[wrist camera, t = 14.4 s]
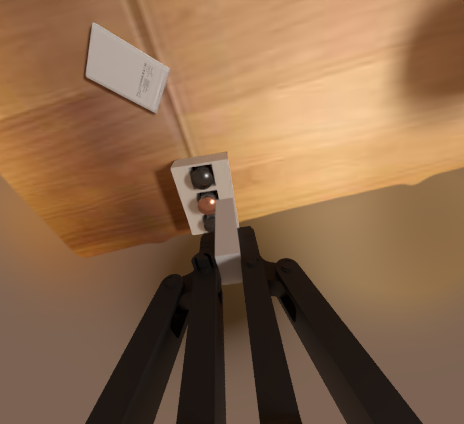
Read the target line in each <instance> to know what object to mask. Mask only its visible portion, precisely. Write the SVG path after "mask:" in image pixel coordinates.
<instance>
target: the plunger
mask: <svg viewBox="0 0 464 424" xmlns="http://www.w3.org/2000/svg"><path fill="white" fill-rule="evenodd" d="M215 215H216V213H214V214H212V215H207V218H206V220H205V222H204V228H205V230H206V231H207V232H215Z"/></svg>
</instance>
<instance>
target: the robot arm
mask: <svg viewBox="0 0 464 424" xmlns="http://www.w3.org/2000/svg"><path fill="white" fill-rule="evenodd" d="M191 262H192V264H193V267H194V271H193V272H191V273H190V274H188V275H185V276H183V277H181V276H180V275H178V274H172V275H169V276H167V277H166V278H165V279H164V280H163V281H162V282H161V284H160V286H159V288H158V290H157V291H156V293H155V295H154V297H153V299H152V301H151V303H150V305H149V306H148V308H147V310H146V312H145V314H144V316H143V317H142V320H141V321H140V323H139V325H138V327H137V329H136V330H135V332H134V334H133V336H132V338H131V340H130V342H129V343H128V345H127V347H126V349H125V351H124V353H123V355H122V356H121V358H120V360H119V362H118V364H117V366H116V368H115V369H114V371H113V373H112V375H111V377H110V379H109V381H108V383H107V384H106V386H105V388H104V390H103V392H102V394H101V395H100V397H99V399H98V401H97V403H96V405H95V407H94V408H93V411H92V412H91V414H90V416H89V418H88V420H87V421H86V423H85V424H153V423H154V420H155V417H156V414H157V412H158V409H159V406H160V403H161V400H162V397H163V394H164V391H165V388H166V385H167V383H168V380H169V377H170V374H171V371H172V368H173V365H174V362H175V359H176V356H177V353H178V351H179V348H180V345H181V342H182V339H183V336H184V333H185V330H186V327H187V325H188V330H187V339H186V347H185V355H184V364H183V372H182V380H181V388H180V397H179V405H178V414H177V422H176V424H226V401H225V362H224V325H223V324H224V323H223V292H222V288H221V282H222V285H226V284H234V283H241V282H243V286H244V294H245V303H246V311H247V320H248V328H249V336H250V345H251V352H252V361H253V369H254V377H255V386H256V394H257V402H258V411H259V419H260V424H302V422H301V418H300V415H299V410H298V406H297V402H296V398H295V394H294V390H293V386H292V382H291V377H290V373H289V369H288V365H287V361H286V357H285V353H284V349H283V344H282V340H281V336H280V332H279V328H278V324H277V320H276V316H275V311H274V307H273V304H272V299H271V296H276V297H277V298H278V300H279V302H280V304H281V305H282V307H283V309H284V311H285V313H286V314H287V316H288V318H289V320H290V322H291V323H292V325H293V327H294V329H295V330H296V332H297V334H298V336H299V338H300V340H301V342H302V343H303V345H304V347H305V349H306V350H307V352H308V354H309V356H310V358H311V360H312V361H313V363H314V365H315V367H316V369H317V370H318V372H319V374H320V376H321V378H322V379H323V381H324V383H325V385H326V386H327V388H328V390H329V392H330V394H331V396H332V397H333V399H334V401H335V403H336V405H337V406H338V408H339V410H340V412H341V414H342V415H343V417H344V419H345V421H346V423H347V424H423V423H422V422H421V421H420V420H419V418H418V417H417V416H416V414H415V413H414V412H413V411H412V409H411V408H410V407H409V405H408V404H407V403H406V402H405V400H404V399H403V398H402V397H401V395H400V394H399V393H398V391H397V390H396V389H395V388H394V386H393V385H392V384H391V382H390V381H389V380H388V379H387V377H386V376H385V375H384V374H383V372H382V371H381V370H380V369H379V367H378V366H377V365H376V363H375V362H374V361H373V359H372V358H371V357H370V356H369V354H368V353H367V352H366V350H365V349H364V348H363V347H362V345H361V344H360V343H359V342H358V340H357V339H356V338H355V336H354V335H353V334H352V333H351V331H350V330H349V329H348V327H347V326H346V325H345V324H344V322H343V321H342V320H341V318H340V317H339V316H338V315H337V314H336V312H335V311H334V310H333V308H332V307H331V306H330V304H329V303H328V302H327V301H326V299H325V298H324V297H323V296H322V294H321V293H320V292H319V290H318V289H317V288H316V287H315V285H314V284H313V283H312V281H311V280H310V279H309V278H308V276H307V275H306V274H305V272H304V271H303V270H302V269H301V267H300V266H299V265H298V264H297V263H296V262H295V261H294V260H292V259H288V258H284V259H281V260H279V261H278V262H277V263H273V262H268V261H265V260H264V259H262V257H261V256H260V254H259V250H258V245H257V241H256V237H255V233H254V230H253V229H252V228H251V227H250V226H247V227H240V228H237V221H236V215H235V208H234V201H233V198H227V199H220V200H216V215H215V232H208V233H204V234H203V235H202V237H201V241H200V251H199V253H198V254H196V255H195V256H194V257H193V258H192V261H191Z"/></svg>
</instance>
